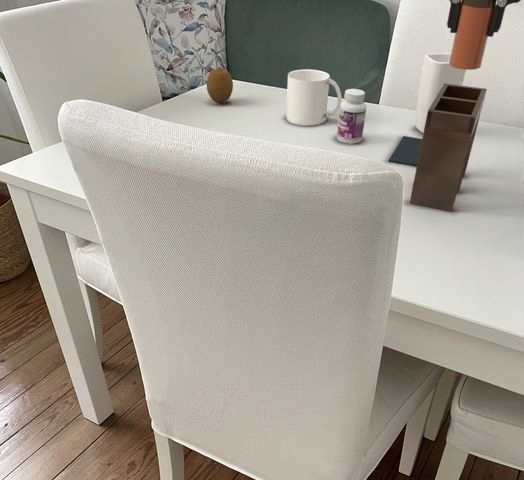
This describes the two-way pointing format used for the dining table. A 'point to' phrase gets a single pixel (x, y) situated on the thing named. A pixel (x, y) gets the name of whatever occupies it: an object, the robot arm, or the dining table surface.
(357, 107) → the pill bottle
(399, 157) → the mat
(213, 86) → the fruit
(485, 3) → the spice jar
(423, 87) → the cup
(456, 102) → the rack
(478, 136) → the dining table surface
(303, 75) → the mug
